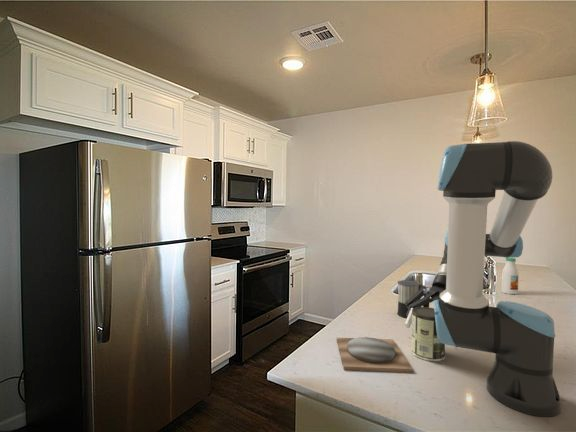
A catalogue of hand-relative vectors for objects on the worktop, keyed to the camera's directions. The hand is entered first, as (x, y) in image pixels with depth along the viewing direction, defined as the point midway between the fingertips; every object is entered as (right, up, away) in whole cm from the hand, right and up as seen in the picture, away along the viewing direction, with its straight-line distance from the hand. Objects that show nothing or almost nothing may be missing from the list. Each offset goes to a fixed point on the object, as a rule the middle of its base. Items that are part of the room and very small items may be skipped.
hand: (426, 332), depth 102 cm
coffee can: (0, -7, 0) cm, 8 cm away
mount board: (-19, -7, -1) cm, 20 cm away
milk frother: (+9, -6, +40) cm, 42 cm away
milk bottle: (+80, -6, +74) cm, 110 cm away
